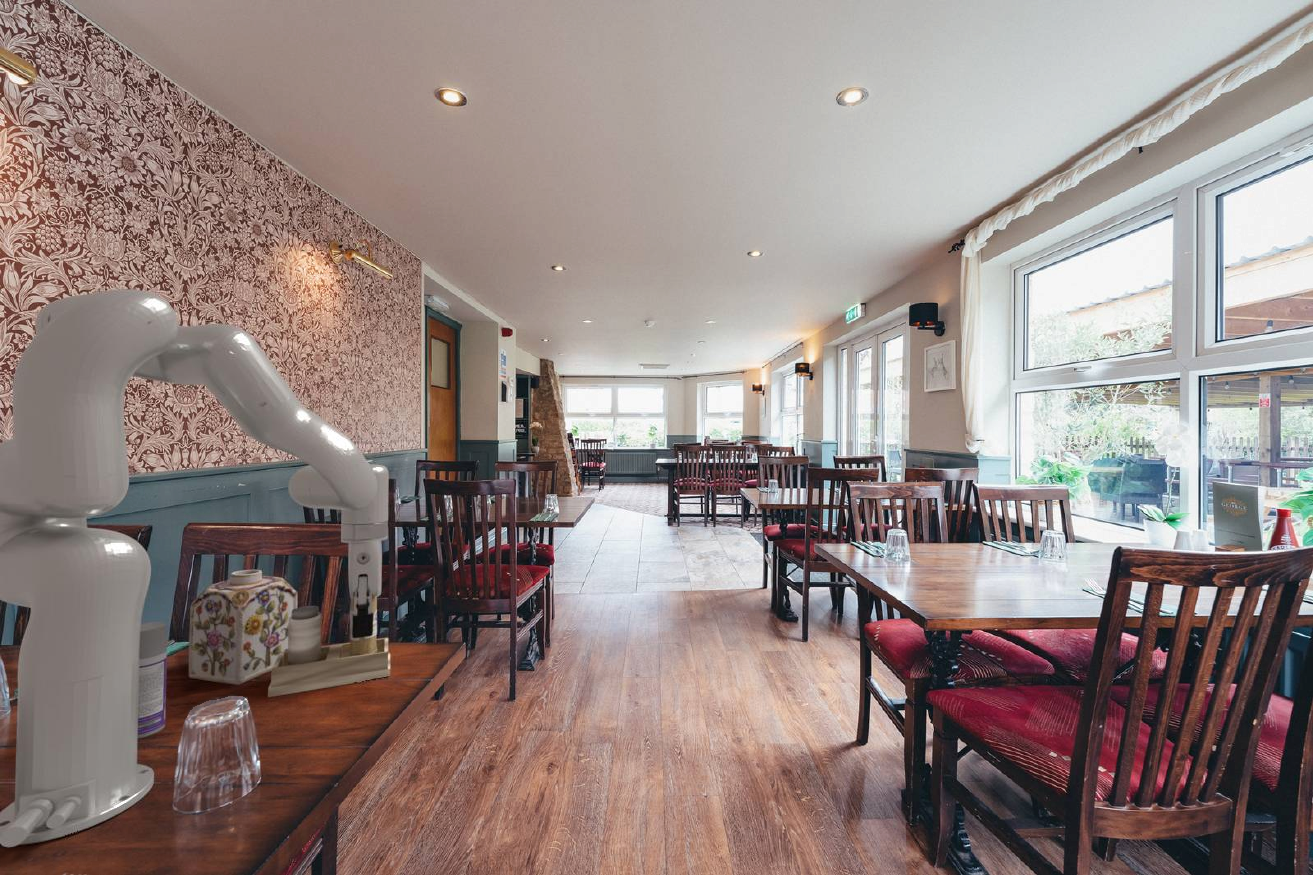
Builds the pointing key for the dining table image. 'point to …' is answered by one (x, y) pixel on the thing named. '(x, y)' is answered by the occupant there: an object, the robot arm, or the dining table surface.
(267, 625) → the decorative jar
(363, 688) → the dining table surface
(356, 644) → the sprinkles bottle
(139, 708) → the container
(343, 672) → the wooden caddy
